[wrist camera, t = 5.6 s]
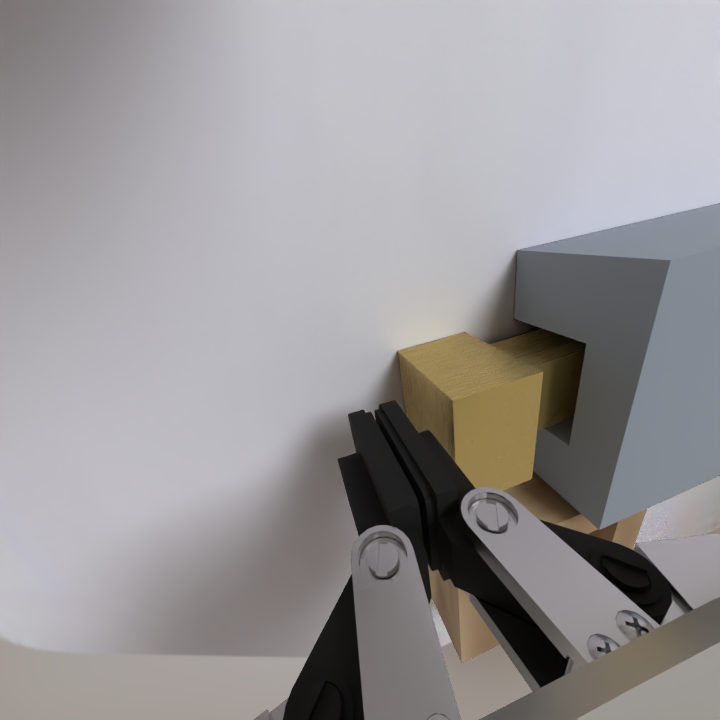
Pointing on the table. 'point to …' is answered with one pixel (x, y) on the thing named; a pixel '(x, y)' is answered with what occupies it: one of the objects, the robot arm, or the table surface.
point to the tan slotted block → (544, 505)
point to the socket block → (632, 360)
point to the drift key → (491, 398)
